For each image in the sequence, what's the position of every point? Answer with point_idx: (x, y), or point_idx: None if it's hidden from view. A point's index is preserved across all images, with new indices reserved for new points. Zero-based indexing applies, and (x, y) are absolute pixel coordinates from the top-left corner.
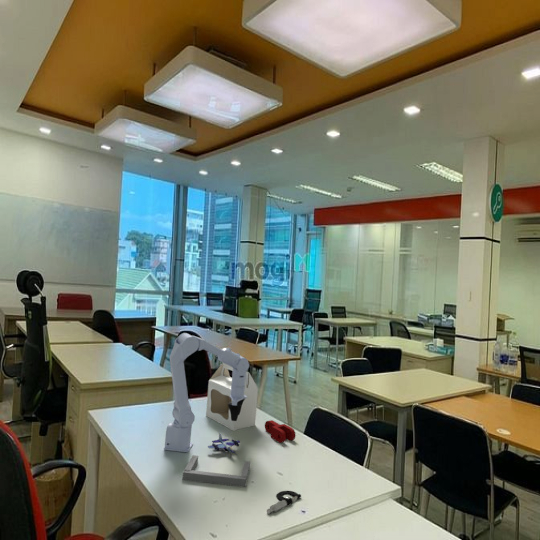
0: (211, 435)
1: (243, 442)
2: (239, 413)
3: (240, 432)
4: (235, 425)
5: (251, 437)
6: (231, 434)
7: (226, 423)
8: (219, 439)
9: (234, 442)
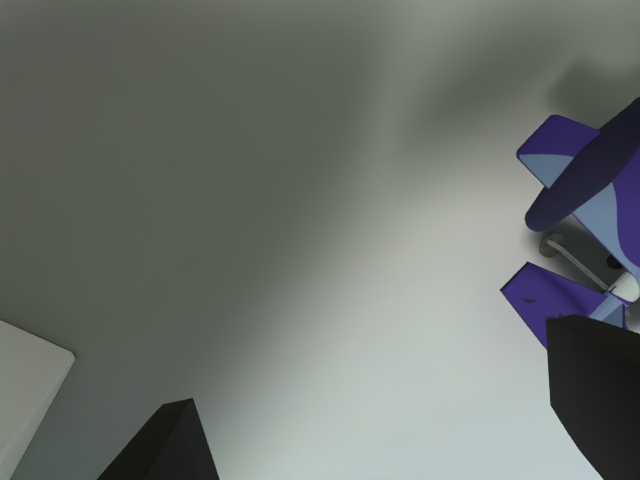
0: (318, 470)
1: (335, 130)
2: (185, 413)
3: (75, 262)
4: (23, 368)
5: (142, 89)
6: (190, 326)
7: (7, 477)
8: None
9: (623, 169)
